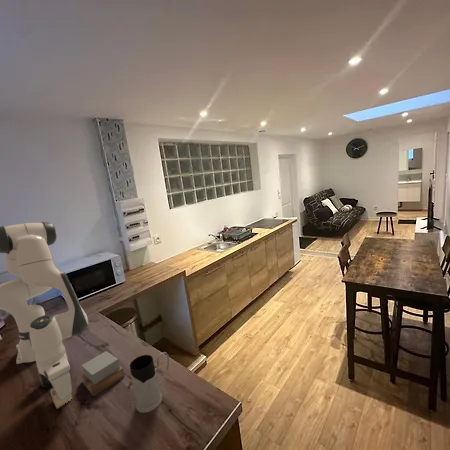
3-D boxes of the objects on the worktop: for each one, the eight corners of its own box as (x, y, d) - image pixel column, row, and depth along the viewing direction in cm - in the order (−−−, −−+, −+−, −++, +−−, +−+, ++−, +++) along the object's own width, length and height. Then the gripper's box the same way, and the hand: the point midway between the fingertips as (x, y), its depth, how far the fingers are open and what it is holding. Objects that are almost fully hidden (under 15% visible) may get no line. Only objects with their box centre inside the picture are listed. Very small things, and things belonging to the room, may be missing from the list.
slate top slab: (83, 374, 102) (81, 365, 101) (108, 359, 109) (106, 350, 108) (94, 384, 95) (92, 375, 94) (119, 368, 102) (118, 359, 102)
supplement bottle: (64, 374, 108) (58, 348, 107) (54, 386, 102) (47, 359, 100) (48, 376, 108) (41, 350, 107) (37, 389, 102) (29, 362, 100)
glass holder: (131, 403, 89) (123, 364, 86) (167, 378, 98) (160, 342, 96) (143, 417, 82) (134, 375, 80) (180, 389, 92) (173, 351, 90)
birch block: (53, 401, 94) (50, 389, 93) (68, 392, 98) (65, 381, 97) (57, 408, 91) (53, 396, 90) (72, 399, 94) (69, 387, 93)
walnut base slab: (82, 383, 102) (80, 374, 102) (112, 365, 111) (110, 357, 110) (93, 397, 94) (91, 388, 93) (124, 377, 103) (122, 368, 102)
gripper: (35, 355, 96) (44, 388, 99) (49, 378, 82) (59, 416, 85) (55, 346, 101) (63, 377, 103) (71, 367, 87) (80, 402, 89)
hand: (61, 395), depth 94 cm, fingers closed on birch block, 5 cm apart
